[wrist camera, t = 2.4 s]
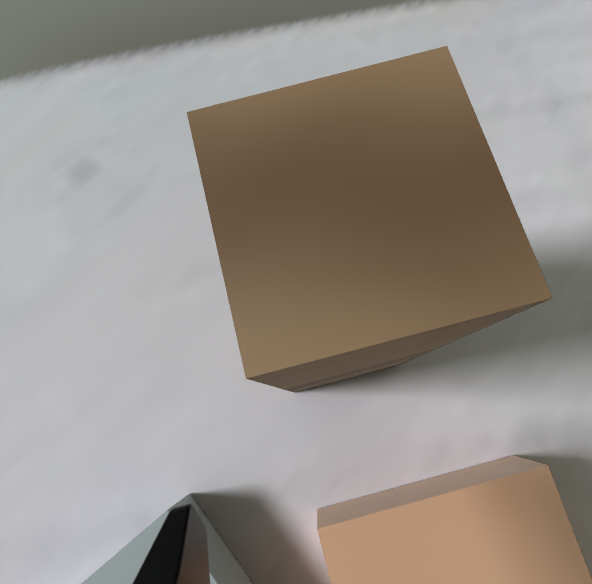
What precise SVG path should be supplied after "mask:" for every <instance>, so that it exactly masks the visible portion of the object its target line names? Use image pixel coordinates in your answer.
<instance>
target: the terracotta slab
mask: <svg viewBox="0 0 592 584" xmlns="http://www.w3.org/2000/svg"><path fill="white" fill-rule="evenodd" d="M317 529H318V534H319V538H320V542H321V546H322V550H323V554H324V558H325V562H326V566H327V570H328V574H329V578H330V582H331V584H592V578H591V576H590V573H589V570H588V568H587V565H586V563H585V560H584V557H583V555H582V552H581V550H580V547H579V544H578V542H577V539H576V537H575V534H574V531H573V529H572V526H571V524H570V521H569V518H568V516H567V513H566V511H565V508H564V505H563V503H562V500H561V498H560V495H559V492H558V490H557V487H556V485H555V482H554V479H553V477H552V474H551V472H550V469H549V466H548V465H546V464H542V463H539V462H535V461H532V460H528V459H525V458H521V457H518V456H515V455H512V456H508V457H505V458H501V459H497V460H494V461H490V462H487V463H483V464H479V465H476V466H472V467H468V468H465V469H461V470H458V471H454V472H450V473H447V474H443V475H439V476H436V477H432V478H429V479H425V480H421V481H418V482H414V483H410V484H407V485H403V486H399V487H396V488H392V489H389V490H385V491H381V492H378V493H374V494H370V495H367V496H363V497H360V498H356V499H352V500H349V501H345V502H341V503H338V504H334V505H331V506H327V507H323V508H320V509H318V512H317Z"/></svg>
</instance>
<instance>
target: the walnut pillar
mask: <svg viewBox="0 0 592 584" xmlns="http://www.w3.org/2000/svg"><path fill="white" fill-rule="evenodd" d="M187 115H188V120H189V124H190V129H191V133H192V138H193V142H194V147H195V151H196V156H197V160H198V165H199V169H200V174H201V178H202V183H203V187H204V192H205V196H206V201H207V205H208V210H209V214H210V219H211V223H212V228H213V232H214V237H215V241H216V246H217V250H218V255H219V259H220V264H221V268H222V273H223V277H224V282H225V286H226V291H227V295H228V300H229V304H230V309H231V313H232V318H233V322H234V327H235V331H236V336H237V340H238V345H239V349H240V353H241V358H242V362H243V367H244V371H245V376H246V379H249V380H253V381H256V382H260V383H263V384H267V385H270V386H274V387H277V388H281V389H284V390H288V391H291V392H298V391H302V390H306V389H309V388H313V387H317V386H321V385H325V384H328V383H332V382H336V381H340V380H344V379H347V378H351V377H355V376H359V375H363V374H366V373H370V372H374V371H378V370H381V369H385V368H389V367H393V366H397V365H399V364H401V363H404V362H406V361H408V360H411V359H413V358H415V357H418V356H420V355H422V354H424V353H427V352H429V351H431V350H434V349H436V348H438V347H441V346H443V345H445V344H447V343H450V342H452V341H454V340H457V339H459V338H461V337H464V336H466V335H468V334H471V333H473V332H475V331H477V330H480V329H482V328H484V327H487V326H489V325H491V324H494V323H496V322H498V321H501V320H503V319H505V318H507V317H510V316H512V315H514V314H517V313H519V312H521V311H524V310H526V309H528V308H530V307H533V306H535V305H537V304H540V303H542V302H544V301H547V300H549V299H551V298H552V296H551V293H550V291H549V289H548V286H547V284H546V282H545V279H544V277H543V274H542V272H541V270H540V267H539V265H538V262H537V260H536V258H535V255H534V253H533V250H532V248H531V246H530V243H529V241H528V238H527V236H526V234H525V231H524V229H523V227H522V224H521V222H520V219H519V217H518V215H517V212H516V210H515V207H514V205H513V203H512V200H511V198H510V195H509V193H508V191H507V188H506V186H505V183H504V181H503V179H502V176H501V174H500V172H499V169H498V167H497V164H496V162H495V160H494V157H493V155H492V152H491V150H490V148H489V145H488V143H487V140H486V138H485V136H484V133H483V131H482V128H481V126H480V124H479V121H478V119H477V117H476V114H475V112H474V109H473V107H472V105H471V102H470V100H469V97H468V95H467V93H466V90H465V88H464V85H463V83H462V81H461V78H460V76H459V73H458V71H457V69H456V66H455V64H454V62H453V59H452V57H451V54H450V52H449V50H448V47H447V46H445V47H441V48H437V49H433V50H429V51H425V52H421V53H417V54H413V55H409V56H406V57H402V58H398V59H394V60H390V61H386V62H382V63H378V64H374V65H370V66H366V67H362V68H358V69H355V70H351V71H347V72H343V73H339V74H335V75H331V76H327V77H323V78H319V79H315V80H311V81H307V82H304V83H300V84H296V85H292V86H288V87H284V88H280V89H276V90H272V91H268V92H264V93H260V94H256V95H253V96H249V97H245V98H241V99H237V100H233V101H229V102H225V103H221V104H217V105H213V106H209V107H205V108H202V109H198V110H194V111H190V112H187Z"/></svg>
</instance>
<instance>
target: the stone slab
mask: <svg viewBox="0 0 592 584" xmlns="http://www.w3.org/2000/svg"><path fill="white" fill-rule="evenodd" d="M189 503H190V504H192V505H193V506H194V507H195V509H196V511H197V513H198V514H199V516H200V518H201V519H202V521H203V523H204V525H205V528H206V532H207V542H208V557H209V572H210V584H253V583H252V582H251V580H250V579H249V577H248V576H247V574H246V573H245V572H244V570H243V569H242V567H241V566H240V564H239V563H238V562H237V560H236V559H235V557H234V556H233V554H232V553H231V551H230V550H229V549H228V547H227V546H226V544H225V543H224V541H223V540H222V539H221V537H220V536H219V534H218V533H217V531H216V530H215V529H214V527H213V526H212V524H211V523H210V521H209V520H208V519H207V517H206V516H205V514H204V513H203V511H202V510H201V508H200V507H199V506H198V504H197V503H196V501H195V500H194V498H193V497H192V496H191V494H189V495H187V496H186V497H185V498H183V499H182V500H180V501H179V502H178V503H176V504H175V505H174V506H172V507H171V508H170V509H168V510H167V511H166V512H165V513H163V514H162V515H161V516H160V517H159V518H158V519H156V520H155V521H154V522H153V523H152V524H151V525H149V526H148V527H147V528H146V529H145V530H144V531H142V532H141V533H140V534H139V535H138V536H137V537H135V538H134V539H133V540H132V541H131V542H130V543H128V544H127V545H126V546H125V547H124V548H123V549H121V550H120V551H119V552H118V553H117V554H116V555H114V556H113V557H112V558H111V559H110V560H109V561H107V562H106V563H105V564H104V565H103V566H102V567H101V568H99V569H98V570H97V571H96V572H95V573H94V574H92V575H91V576H90V577H89V578H88V579H87V580H85V581H84V582H83V583H82V584H132V583H133V581H134V579H135V577H136V576H137V574H138V572H139V570H140V568H141V566H142V564H143V562H144V560H145V558H146V556H147V554H148V552H149V550H150V548H151V546H152V544H153V542H154V540H155V539H156V537H157V535H158V533H159V531H160V529H161V527H162V525H163V523H164V521H165V519H166V517H167V515H168V513H169V512H170V510H171V509H172V508H174V507H177V506H181V505H185V504H189Z"/></svg>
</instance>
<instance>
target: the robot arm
mask: <svg viewBox="0 0 592 584" xmlns="http://www.w3.org/2000/svg"><path fill="white" fill-rule="evenodd" d="M132 584H210V572H209V557H208V542H207V532H206V528H205V525H204V523H203V521H202V519H201V518H200V516H199V514H198V513H197V511H196V509H195V507H194V506H193V505H192V504H190V503H189V504H185V505H181V506H177V507H174V508H172V509H171V510H170V512H169V513H168V515H167V517H166V519H165V521H164V523H163V525H162V527H161V529H160V531H159V533H158V535H157V537H156V539H155V540H154V542H153V544H152V546H151V548H150V550H149V552H148V554H147V556H146V558H145V560H144V562H143V564H142V566H141V568H140V570H139V572H138V574H137V576H136V577H135V579H134V581H133V583H132Z"/></svg>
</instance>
